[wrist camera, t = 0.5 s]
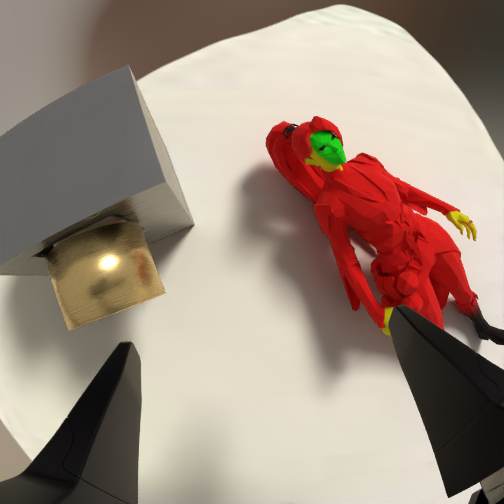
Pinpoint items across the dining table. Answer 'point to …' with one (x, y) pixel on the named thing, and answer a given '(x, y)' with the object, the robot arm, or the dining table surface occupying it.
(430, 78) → the dining table surface
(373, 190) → the figurine
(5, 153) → the housing
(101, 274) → the gold cylindrical piece
